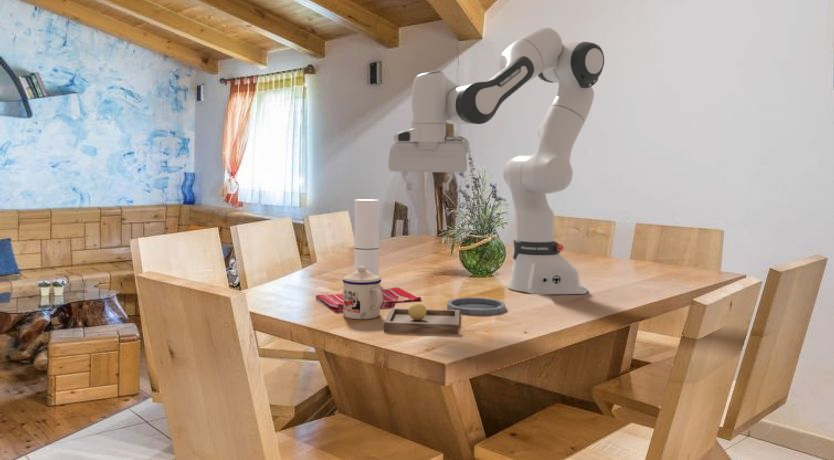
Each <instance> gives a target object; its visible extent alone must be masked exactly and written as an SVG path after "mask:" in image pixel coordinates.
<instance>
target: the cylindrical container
mask: <svg viewBox="0 0 834 460" xmlns="http://www.w3.org/2000/svg"><path fill="white" fill-rule="evenodd" d="M379 231H380V199H375V198H374V199H373V198H370V199H366V198H363V199H362V198H361V199H354V237H353V238H354V242H353V243H354V244H353V245H354V249H353V250H354V251H353V252H354V254H353V255H354V256H353V257H354V258H353V259H354V263H353V264H354V267H353V272H354V271H358V267H359V266H365V267H366V271H369V272H371V273H372V274H374V275H377V276H379V250H380V247H379V246H380V245H379V241H380V240H379V238H380V237H379V236H380V235H379V234H380V233H379Z"/></svg>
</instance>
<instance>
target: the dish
mask: <svg viewBox="0 0 834 460" xmlns="http://www.w3.org/2000/svg"><path fill="white" fill-rule="evenodd" d="M506 307H507V306H506V303H505V302H504V301H501V300H498V299H493V298H489V297H488V298H487V297H469V296H467V297H457V298H456V297H455V298H453V299H449V300H447V304H446V310H459V315H460V314H462V315H469V316H491V315H498V314H502V313H504V312H505V311H506Z"/></svg>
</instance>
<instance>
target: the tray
mask: <svg viewBox="0 0 834 460" xmlns="http://www.w3.org/2000/svg"><path fill="white" fill-rule="evenodd" d="M383 331H384V332H387V333H389V332H390V333H414V334H415V333H417V334H420V333H421V334H423V333H424V334H448V335H451V334H452V335H459V334H460V313H459V310H448V309H435V308H433V309H432V308H426V316H425V317H424V318H423V319H422V320H413V319H412V318H411V317H410V315H409V308H405V307H403V308H402V307H400V308H399V307H394V308H390V311H389V312H388V314H387V316H386V318H385V319H384V322H383Z"/></svg>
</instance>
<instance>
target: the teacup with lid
mask: <svg viewBox="0 0 834 460" xmlns="http://www.w3.org/2000/svg"><path fill="white" fill-rule="evenodd" d="M381 282H382V278H381V276H379V275H378V276H377V275H374V274H372V273H371V272H369V271H366V267H365V266H359V267H358V271H354V270H353V272H352V273H350V274H346V275H344V277H343V278H342V283H343V287H342V288H343V291H342V292H343V293H342V294H343V312H342V314H343V316H344V317H345V318H347V319H352V320H371V319H375V318H378V317H380V315H381V309H380V307H381V305H382V302H383V295H382V292H381V291H380V290H381Z"/></svg>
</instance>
